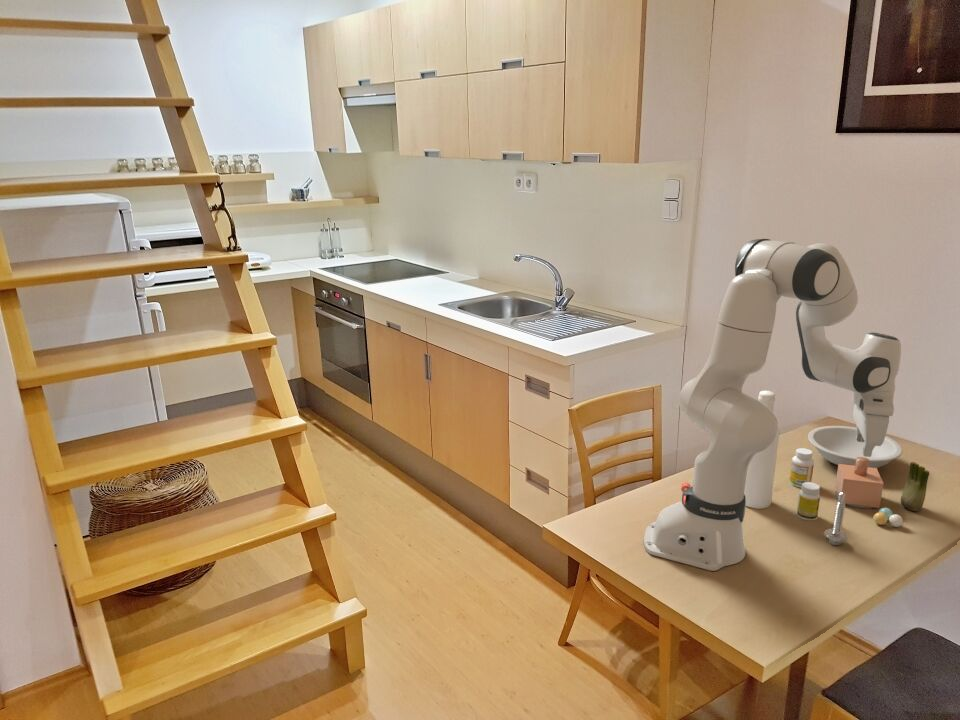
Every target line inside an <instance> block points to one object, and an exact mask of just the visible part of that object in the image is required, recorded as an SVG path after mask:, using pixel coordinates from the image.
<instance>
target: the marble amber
mask: <svg viewBox="0 0 960 720" xmlns="http://www.w3.org/2000/svg"><path fill="white" fill-rule="evenodd" d="M873 521H874V522H875V523H876V524H877V525H879V526H884V525H886V523H887V522H888V521H889V520H888V518H887V516H886V515H885V514H884V513H881V512H879V511H877V512H876V513H875V514H873Z"/></svg>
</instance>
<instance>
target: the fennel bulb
mask: <svg viewBox="0 0 960 720" xmlns="http://www.w3.org/2000/svg"><path fill="white" fill-rule="evenodd" d="M919 464H920V463H917V462H915V461H911V462H910V465H909V472H908V477H907V479H906V482H905V485H904V487H903V492H902V495H901V496H900V497H901V498H900V504H901V505H902V507H904V508H905V509H907V510H909V511H913V512H919V511H921V509H922V508H923V506H924V503H925V499H926V493H927V485H928V480H929V475H930V470H927V469H926V467H925V466H920V465H919Z"/></svg>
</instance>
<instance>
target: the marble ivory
mask: <svg viewBox="0 0 960 720" xmlns="http://www.w3.org/2000/svg"><path fill="white" fill-rule="evenodd" d="M888 523H889V525H891V526H892V527H893V528H899V527H901V526H902V525H903V523H904V520H903V517H902V516H901V515H899V514H897V513H896V514H895V513H894V514H893V515H891V516H890V517H889V520H888Z"/></svg>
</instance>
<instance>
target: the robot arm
mask: <svg viewBox="0 0 960 720" xmlns="http://www.w3.org/2000/svg"><path fill="white" fill-rule="evenodd" d="M734 264H735V265H734V274H735V275H734V277H733V278H732V279H731V281H730V282H729V284H728V287H727V288H726V292H725V294H724V297H723V300H722V303H721V306H720V309H719V314H718V317H717V320H716V321H717V322H716V326H715V331H714V335H713V340H712V344H711V346H710V347H711V348H710V352H709V355H708V357H707V360H706V362H705V364H704V366H703V368H702V369H701V371H700V372H699V373H698V374H697V376H696V377H694V378H691V379H690V380H688V381H687V382H686V383H685V384H684V385H683V387H682V388H681V390H680V393H679V397H678V403H679V408H680V409H681V410H682V412H683V413H684V415H685V416H686V417H687V418H688V419H689V420H690V421H691V422H692V423H694V424H695V425H696V426H698V427H700V428H701V429H703V430H704V431H706V432H708V433H709V435H710V445H709V448H708V449H706V450H704V451H702V452H701V453H698V454H697V456H696V458H695V460H694V463H693V464H694V465H693V466H694V467H693V475H692V477H693V479H692V486H691V484H690V483H689V482H688V481H687V482H686V481H685V482H683V483H681V487H680V489H681V492H682V495H681V500H680V501H678V502H676V503H673V504H671V505H668V506H666V507H664V508H663V509H662V510H661V511H660V512H659V514H658V516H657V519H656V521H653V522H651V523H650V524H649V525H648V526H647V527H646V529H645V532H644V536H643V545H644V549H645V550H646V551H647V553H648V554H650V555H652V556H655V557H659V558H663V559H666V560H670V561H674V562H678V563H682V564H685V565H689V566H693V567H696V568H701V569H704V570H707V571H711V572H712V571H713V572H716V571H718V570H720V569H722V568H724V567H726V566H731V565H736V564H737V563H740V562H741V561H742V560H744V558H745V557H746V548H745V543H744V538H743V537H744V535H743V522H744V518H745V513H746V507H747V506H746V500H745V494H744V491H745V483H746V477H747V470H748V467H749V464H750V461H751V460H752V458H753V456H754V455H755V454H756V453H758V452H760V451H763V450H764V449H766V448H767V447H768V446H770V445H771V443H772V442H773V441H774V439H775V437H776V434H777V430H778V429H779V425H778V424H779V423H778V418H777V417H776V415H775V414H774V412H773V413H772V412H771V411H770V410H769V409H768V408H767V407H765V406H764V405H763V404H762V403H761V402H759V400H757V399H755V398H754V397H752V396H750V395H747V394H746V393H744V392H742V391H743V386H744V384H745V381H746V380H747V378H748V377H749V376H750V375H751V374H754V373H757V372H759V371H760V370H762V369H763V368H764V366H765V364H766V362H767V361H766V360H767V356H768V352H769V348H770V343H771V340H772V334H773V330H774V326H775V320H776V312H777V303H778V301H779V300H780V298H781V297H784V298H791V299H799V300H800V301H799V302H798V304H797V306H796V309H795V310H796V311H795V320H796V326H797V327H796V328H797V331H798V337H799V341H800V347H801V367H802V371H803V373H804V375H805V376H806V377H807V378H808V379H810V380H813V381H817V382H821V383H825V384H828V385H831V386H832V385H833V386H835V387H838V388H842V389H845V390H848V391H850V392H852V396H851V401H852V403H853V404H854V406H853V411H852V418H853V420H854V423H855V424H856V428H857V435H856V439H857V441H858V442H864V441H865V446H864V447H863V452H862V453H863V455H864V456H865V457H871V456H872V451H873V449H874V447H875V446H881V445H882V444H883V442H884V439H885V436H887V431H888V428H889V424H890V417H893V416H894V412H895V408H894V397H895V391H896V381H895V380H896V376H897V375H898V374H899V370H900V369H899V368H900V364H901V355H902V354H901V353H902V345H901V341H900V339H898V338H897V337H895V336H893V335H892V336H891V335H889V334H884V333H879V332H868V333H866V334H865V336H864V338H863V341H862V345H860V346H859V347H858V348H855V349H852V348H848V347H846V346H842V345H838V344H836V343H833V342H832V341H830V340H828V338H826V337H827V336H826V332H825V327H830V326H835V325H837V324H839V323H841V322H844V321H845V320H846V319H848V318H849V317H850V316H851V315H852V314H853V312H854V311H855V310H856V308H857V305H858V301H859V300H858V299H859V298H858V296H859V295H858V291H857V287H856V284H855V280H854V279H853V276H852V272H851V270H850V268H849V266H848V264H847V262H846V261H845V258H844V257H843V255H842V254H841V252H840V251H839V250H838V249H837V248H836V247H835V246H834V245H832V244H829V243H824V242H818V243H817V242H816V243H813V244H810V245H807V246H806V245H801V244H798V243H795V242H792V241H785V240H775V239H774V240H773V239H772V240H771V239H769V238H756V239H751V240H750V241H748V242H746V243H745V244H744V245H743V247H741V249H740V250H739V251H738V254H737V256H736V260H735V263H734Z"/></svg>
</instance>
